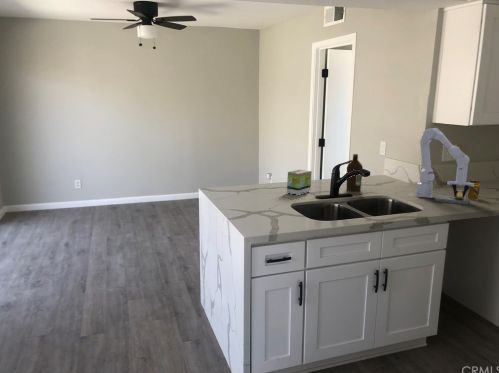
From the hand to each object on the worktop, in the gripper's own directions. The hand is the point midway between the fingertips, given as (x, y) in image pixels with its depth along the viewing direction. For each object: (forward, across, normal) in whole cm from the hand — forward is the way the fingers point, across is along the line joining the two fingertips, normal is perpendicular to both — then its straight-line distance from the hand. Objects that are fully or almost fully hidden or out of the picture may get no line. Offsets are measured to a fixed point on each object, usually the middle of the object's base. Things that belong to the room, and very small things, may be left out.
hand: (459, 197), depth 260 cm
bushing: (+2, 0, 0) cm, 2 cm away
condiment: (+3, +8, +13) cm, 16 cm away
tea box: (+3, -97, -18) cm, 99 cm away
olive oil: (+3, -65, +6) cm, 65 cm away
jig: (+3, -4, 0) cm, 5 cm away
